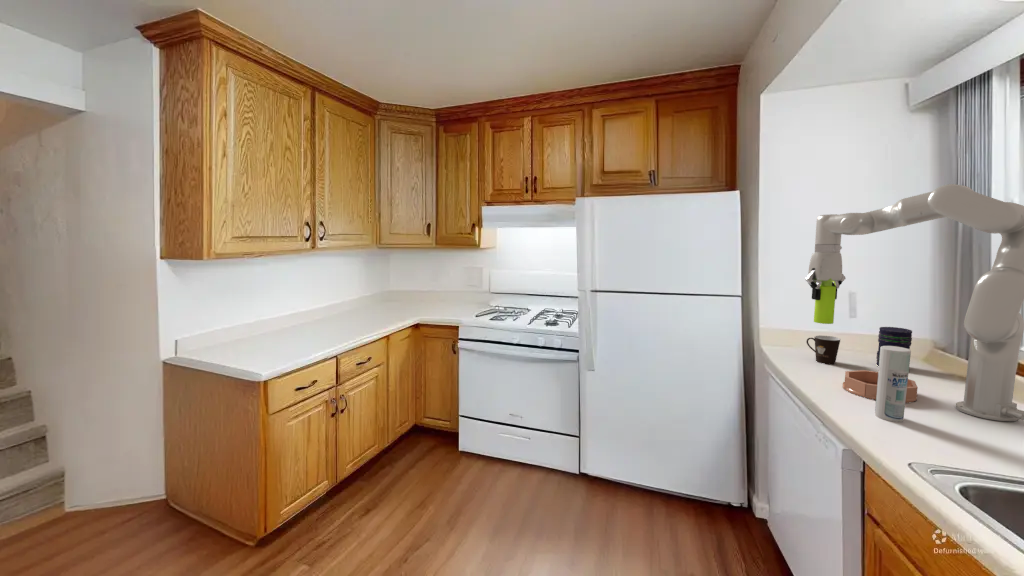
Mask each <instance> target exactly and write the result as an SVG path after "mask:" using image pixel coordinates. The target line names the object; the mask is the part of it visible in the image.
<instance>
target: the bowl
mask: <svg viewBox="0 0 1024 576" xmlns="http://www.w3.org/2000/svg"><path fill="white" fill-rule="evenodd" d="M844 372H845V373H844V381H843V382H842V388H843V390H844V391H846V392H847V391H848V392H847V393H849V392H850V393H849V394H852V395H854V394H855V395H854V396H857V395H858V396H857V397H860V396H862V397H861V398H864V397H865V399H868V398H869V399H868V400H872V399H874V400H873V401H876V395H877V383H878V371H874V370H873V371H872V370H865V369H861V370H860V369H859V370H846V371H844ZM917 400H918V386H917V383H916V381H915V380H913V379H909V378H908V383H907V392H906V401H905V404H909V402H911V403H914V401H915V402H916V401H917Z"/></svg>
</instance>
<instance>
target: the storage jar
mask: <svg viewBox="0 0 1024 576" xmlns="http://www.w3.org/2000/svg"><path fill="white" fill-rule="evenodd" d="M912 336H913V330H912V329H909V328H908V329H907V328H904V327H896V326H895V327H894V326H880V327H879V331H878V336H877V337H878V338H877V342H878V350H877V351H876V363H875V365H876V364H877V365H878V366H879V358H880V347H881V346H897V347H903V348H907V349H909V350H911V346H912V341H913V337H912ZM878 366H877V367H878Z"/></svg>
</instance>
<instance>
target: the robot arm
mask: <svg viewBox="0 0 1024 576" xmlns="http://www.w3.org/2000/svg"><path fill="white" fill-rule="evenodd" d="M943 218H948V219H949V220H952V221H955V222H957V223H960V224H963V225H966V226H967V227H969V228H972V229H975V230H978V231H980V232H984V233H986V234H1000V235H1001V242H1000V245H999V247H998V249H997V252H996V255H995V259H994V262H993V265H992V267H991V270H989V271H987V272H985V273H984V274H982V275H981V276H980V277H979V279H978V280H977V281H976V283H975V285H974V289H973V291H972V294H971V297H970V300H969V304H968V307H967V310H966V314H965V316H964V321H963V326H964V329H965V332H966V333H967V334H968V335H969V336H970V337H971V340H970V346H969V352H968V353H969V354H968V360H967V367H966V376H965V377H966V378H965V387H964V392H963V393H964V395H963V401H958V402H956V403H955V409H957V410H958V411H960V412H962V413H964V414H967V415H969V416H974V417H977V418H981V419H986V420H991V421H992V420H993V421H996V422H997V421H999V422H1016V421H1018V420H1022V421H1024V410H1022V409H1019V408H1017V407H1018V403H1017V402H1013V400H1014V399H1013V398H1014V391H1015V390H1014V389H1015V385H1016V383H1015V382H1016V374H1017V368H1018V362H1019V354H1020V349H1021V343H1022V339H1023V333H1024V318H1023V315H1022V314H1021V313H1020V312H1021V308H1022V306H1023V303H1024V204H1023V205H1022V204H1019V203H1016V202H1010V201H1003V200H1000V199H997V198H993V197H991V196H987V195H986V194H985V195H984V194H982V193H979V192H976V191H975V190H973V189H972V188H971V187H969V186H966V185H963V184H961V185H960V184H956V183H955V184H954V183H952V184H950V183H949V184H944V185H940V186H938V187H936V188H935V189H933V190H932V191H929V192H925V193H921V194H917V195H912V196H908V197H904V198H901V199H899V200H897V202H895V203H894V204H892V205H889V206H886V207H882V208H879V209H875V210H871V211H866V212H847V213H841V214H831V213H830V214H820V215H818V216H817V217H816V225H815V238H814V239H815V240H814V241H815V243H814V252H813V253H812V254H811V257H810V261H809V266H808V271H807V272H808V274H807V276H806V277H805V278H804V279H805V282H807V284H808V285H809V286H810V289H811V299H812V300H814V301H815V300H820V296H821V289H819V288H820V285H821V283H822V281H827V280H829V279H830V278H831V279H832V286H834V287H836V294H835V300H837V298H838V289H840V286H841V285H842V283H843V282H844V281H845V280H846V276H845V275H844V274H843V259H842V253H841V250H842V249H843V247H842V245H841V244H842V235H844V236H862V235H863V236H864V235H869V234H873V233H878V232H883V231H887V230H892V229H898V228H900V227H907V226H910V225H916V224H921V223H924V222H929V221H933V220H938V219H943Z"/></svg>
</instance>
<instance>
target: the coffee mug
mask: <svg viewBox="0 0 1024 576" xmlns="http://www.w3.org/2000/svg"><path fill="white" fill-rule="evenodd" d="M809 340H813V341H814V348H813V347H812V346H811V345H810V343H809ZM840 343H841V338H839V337H836V336H833V335H832V336H831V335H815V336H814V337H808V338H807V339H806V345H807V346H808V347H809V349H811V350H812V351H813V352H814V353H815V362H816V361H817V362H816V363H819V364H822V363H825V364H824V365H835V364H836V361H837V356H838V352H839V347H840ZM834 363H835V364H834Z"/></svg>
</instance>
